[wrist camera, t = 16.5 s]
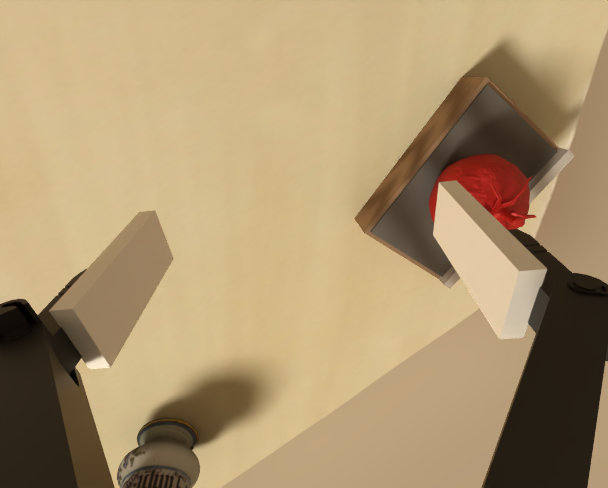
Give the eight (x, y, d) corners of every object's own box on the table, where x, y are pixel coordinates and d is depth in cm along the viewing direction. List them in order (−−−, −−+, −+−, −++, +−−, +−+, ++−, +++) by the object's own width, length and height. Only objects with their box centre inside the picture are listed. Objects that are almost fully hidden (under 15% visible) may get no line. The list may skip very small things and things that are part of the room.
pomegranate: (430, 144, 36) (482, 164, 27) (514, 150, 37) (587, 171, 29) (409, 230, 40) (449, 269, 32) (485, 232, 41) (543, 270, 33)
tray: (462, 76, 38) (495, 76, 32) (535, 146, 42) (574, 156, 37) (354, 218, 44) (367, 237, 38) (429, 265, 48) (450, 288, 43)
